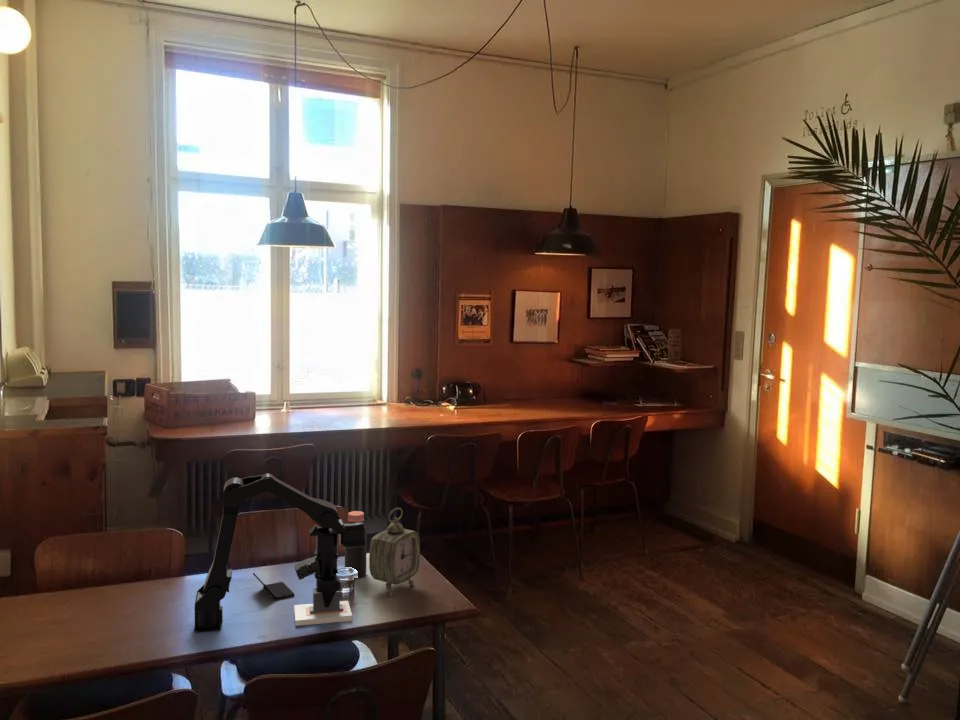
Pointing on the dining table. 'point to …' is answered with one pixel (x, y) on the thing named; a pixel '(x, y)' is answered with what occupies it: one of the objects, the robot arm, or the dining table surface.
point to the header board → (321, 614)
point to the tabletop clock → (394, 554)
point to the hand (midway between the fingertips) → (326, 604)
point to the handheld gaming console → (277, 590)
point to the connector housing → (319, 602)
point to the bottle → (357, 555)
